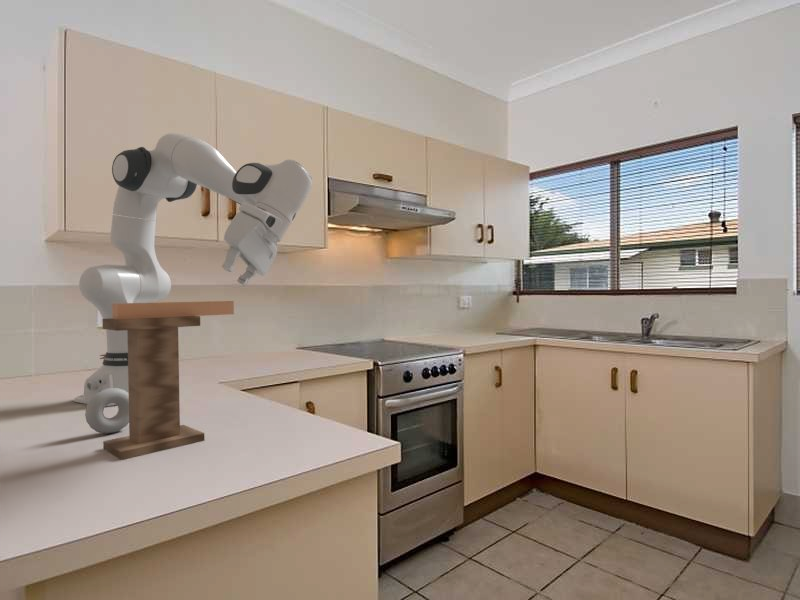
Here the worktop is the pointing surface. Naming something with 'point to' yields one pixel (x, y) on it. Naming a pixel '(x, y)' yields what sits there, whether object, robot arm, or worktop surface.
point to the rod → (171, 309)
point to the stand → (152, 386)
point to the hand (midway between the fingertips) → (233, 277)
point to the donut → (97, 407)
